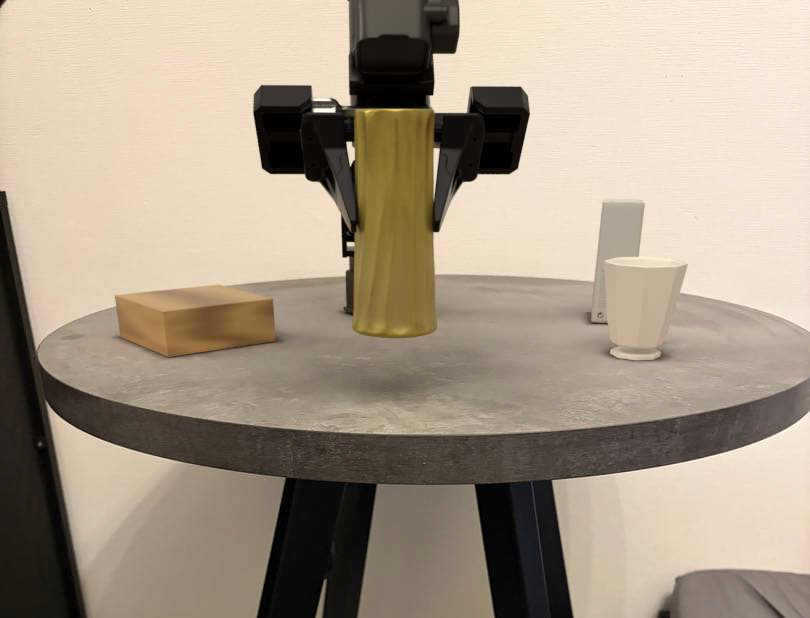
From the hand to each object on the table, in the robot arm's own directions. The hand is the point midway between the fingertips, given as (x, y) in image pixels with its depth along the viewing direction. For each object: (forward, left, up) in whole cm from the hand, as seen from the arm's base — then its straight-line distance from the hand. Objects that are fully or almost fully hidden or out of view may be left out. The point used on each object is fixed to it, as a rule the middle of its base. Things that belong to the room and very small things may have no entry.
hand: (394, 228), depth 58 cm
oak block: (+5, -29, -12) cm, 32 cm away
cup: (-28, -4, -12) cm, 30 cm away
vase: (-1, -1, -7) cm, 7 cm away
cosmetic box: (-37, -17, -12) cm, 42 cm away
